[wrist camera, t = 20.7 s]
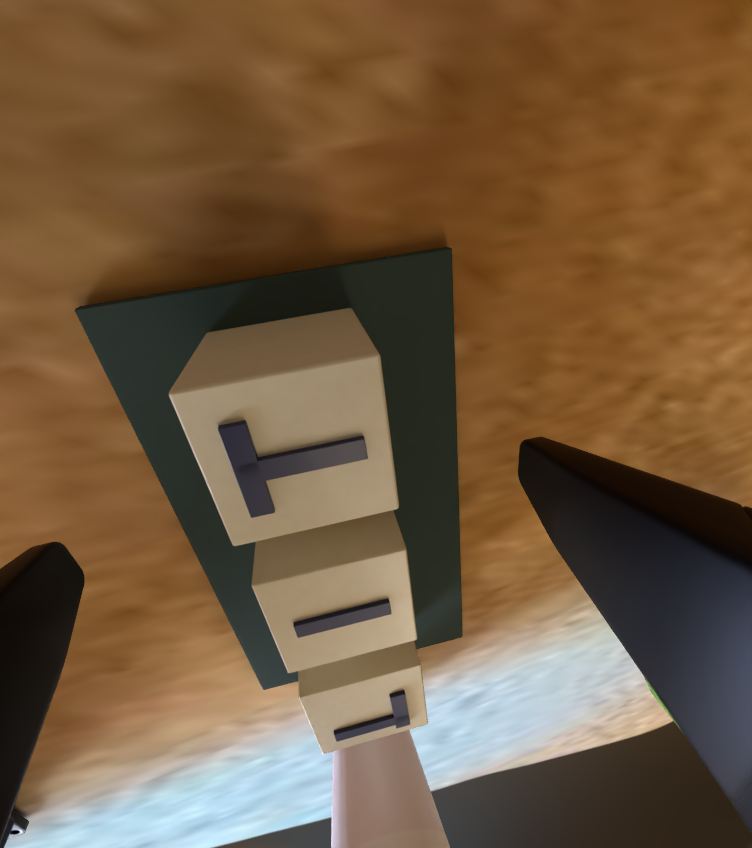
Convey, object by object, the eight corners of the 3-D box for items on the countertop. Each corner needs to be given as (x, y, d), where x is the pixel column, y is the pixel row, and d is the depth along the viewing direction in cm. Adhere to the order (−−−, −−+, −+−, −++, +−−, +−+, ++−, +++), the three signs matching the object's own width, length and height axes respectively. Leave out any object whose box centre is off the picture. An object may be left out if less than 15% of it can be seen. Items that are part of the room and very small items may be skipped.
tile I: (288, 569, 17) (288, 679, 13) (260, 487, 15) (250, 590, 11) (389, 545, 18) (418, 644, 14) (377, 462, 16) (408, 552, 12)
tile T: (247, 455, 14) (231, 552, 10) (205, 332, 12) (164, 396, 8) (371, 429, 15) (401, 513, 11) (352, 306, 13) (381, 355, 9)
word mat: (263, 682, 21) (263, 690, 21) (79, 306, 11) (73, 309, 11) (460, 630, 23) (463, 637, 22) (447, 246, 13) (452, 248, 12)
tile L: (316, 649, 20) (323, 759, 16) (296, 591, 18) (298, 702, 14) (402, 627, 21) (429, 728, 17) (393, 568, 19) (422, 668, 15)
